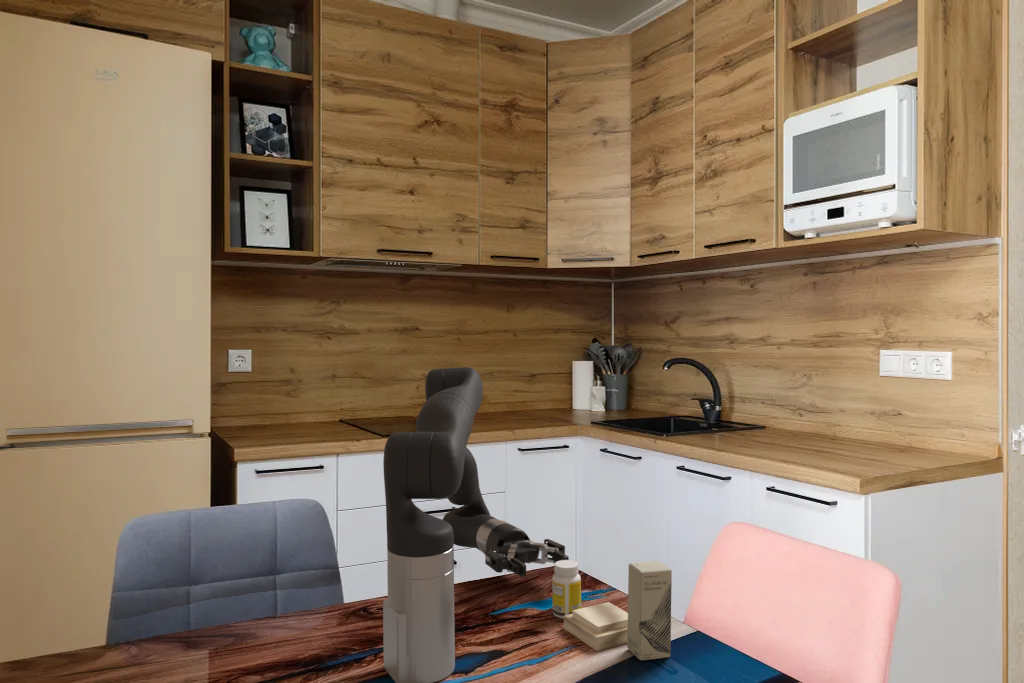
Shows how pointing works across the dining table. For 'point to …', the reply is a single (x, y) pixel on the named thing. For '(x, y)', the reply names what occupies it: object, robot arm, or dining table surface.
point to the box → (649, 610)
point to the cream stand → (598, 625)
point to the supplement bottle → (566, 588)
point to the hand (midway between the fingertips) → (545, 566)
